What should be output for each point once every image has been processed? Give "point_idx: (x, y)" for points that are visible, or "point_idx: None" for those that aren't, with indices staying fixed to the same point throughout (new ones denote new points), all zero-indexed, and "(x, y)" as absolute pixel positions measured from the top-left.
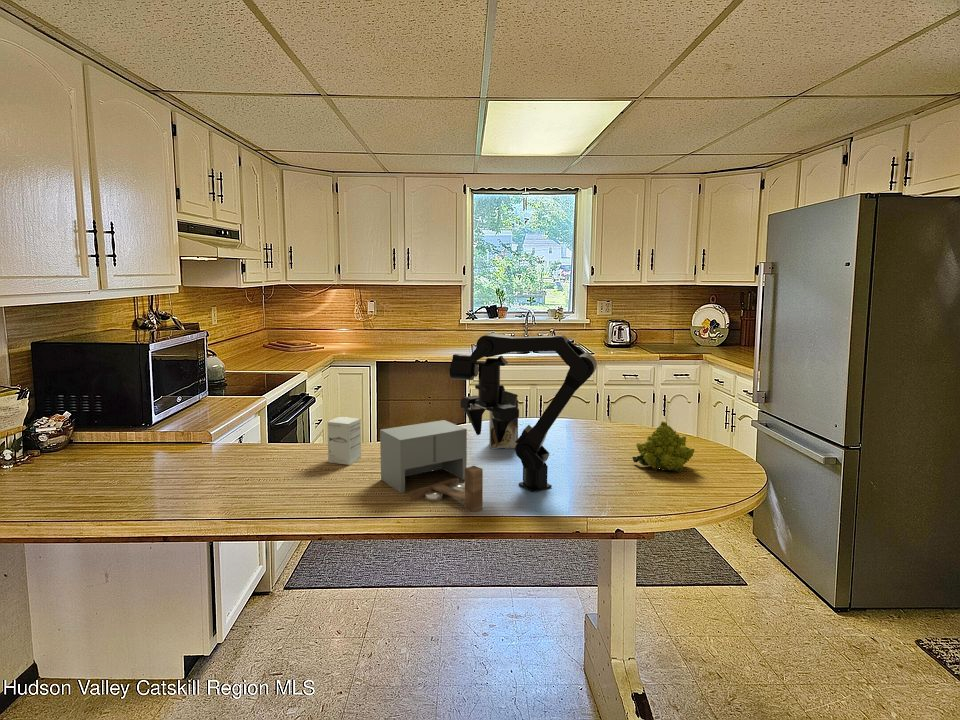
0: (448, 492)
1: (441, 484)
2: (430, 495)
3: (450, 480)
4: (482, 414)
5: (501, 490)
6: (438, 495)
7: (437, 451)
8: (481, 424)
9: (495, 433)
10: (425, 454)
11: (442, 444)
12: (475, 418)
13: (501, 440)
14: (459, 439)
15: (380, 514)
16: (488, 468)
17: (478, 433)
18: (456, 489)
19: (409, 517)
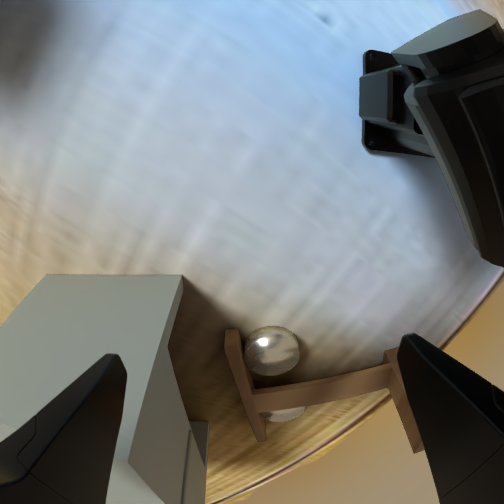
0: (323, 401)
1: (258, 396)
2: (292, 417)
3: (241, 370)
4: (18, 481)
5: (361, 234)
6: (304, 407)
7: (184, 456)
8: (78, 411)
9: (423, 431)
10: (192, 472)
11: (177, 468)
12: (86, 498)
13: (422, 343)
14: (153, 437)
15: (289, 459)
16: (108, 133)
17: (120, 375)
18: (292, 365)
19: (333, 440)
